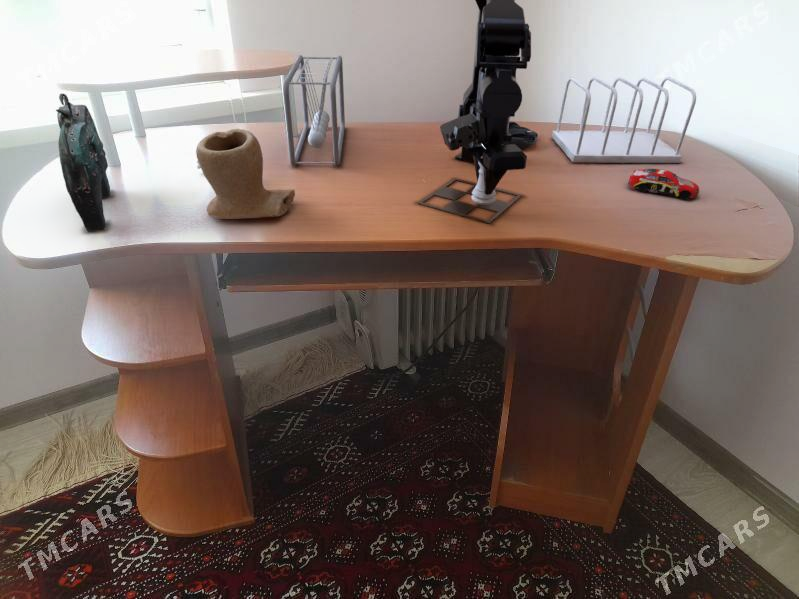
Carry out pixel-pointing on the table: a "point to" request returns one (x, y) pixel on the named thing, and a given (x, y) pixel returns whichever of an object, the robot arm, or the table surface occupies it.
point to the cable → (521, 136)
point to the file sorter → (620, 143)
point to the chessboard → (465, 208)
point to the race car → (663, 183)
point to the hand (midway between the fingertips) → (484, 189)
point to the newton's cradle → (321, 117)
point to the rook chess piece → (482, 190)
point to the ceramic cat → (83, 163)
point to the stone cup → (238, 177)
